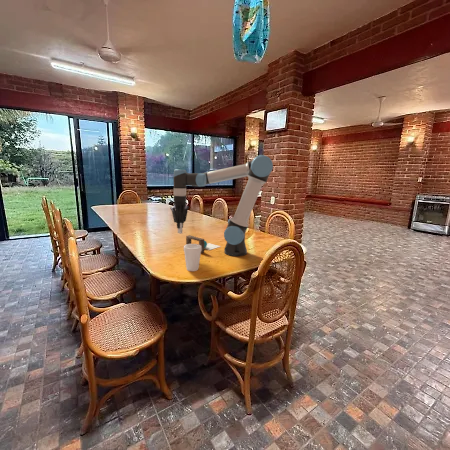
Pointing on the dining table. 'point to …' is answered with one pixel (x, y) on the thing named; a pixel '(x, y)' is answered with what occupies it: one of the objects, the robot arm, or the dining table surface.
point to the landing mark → (211, 246)
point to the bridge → (201, 241)
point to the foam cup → (192, 256)
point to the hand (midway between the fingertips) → (180, 233)
